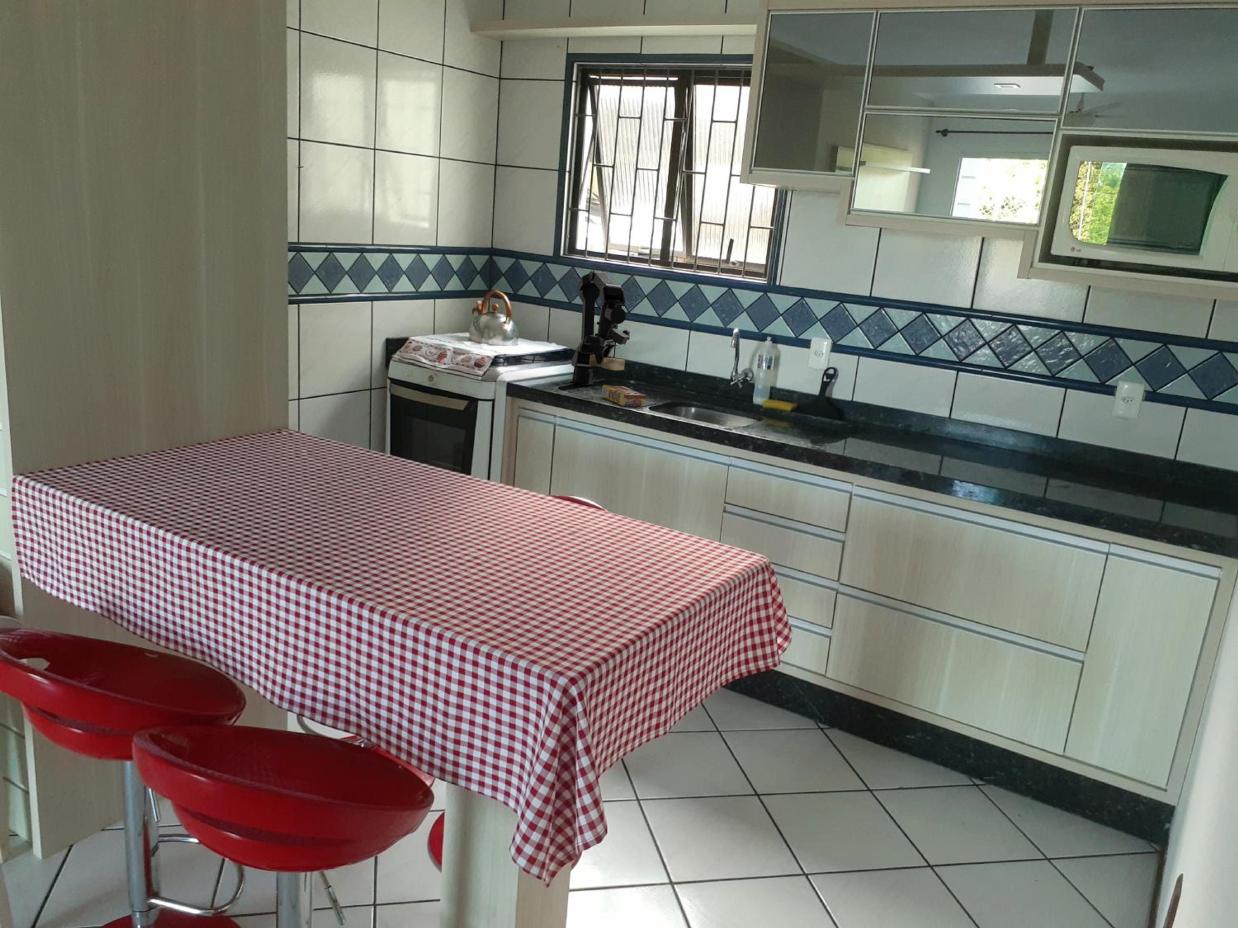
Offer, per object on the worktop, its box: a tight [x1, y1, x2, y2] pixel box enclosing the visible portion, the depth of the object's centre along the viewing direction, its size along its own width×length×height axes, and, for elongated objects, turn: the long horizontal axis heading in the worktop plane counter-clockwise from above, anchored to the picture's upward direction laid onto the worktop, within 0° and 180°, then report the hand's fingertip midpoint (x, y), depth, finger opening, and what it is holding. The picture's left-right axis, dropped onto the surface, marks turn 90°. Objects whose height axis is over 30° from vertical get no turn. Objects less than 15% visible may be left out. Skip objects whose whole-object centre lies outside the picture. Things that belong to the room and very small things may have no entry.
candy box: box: [600, 384, 646, 407], centre depth 334 cm, size 9×4×15 cm
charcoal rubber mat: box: [608, 399, 657, 408], centre depth 338 cm, size 12×14×1 cm
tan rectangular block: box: [589, 355, 626, 371], centre depth 340 cm, size 12×6×4 cm, turn 57°
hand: (601, 363), depth 342 cm, fingers closed on tan rectangular block, 3 cm apart
